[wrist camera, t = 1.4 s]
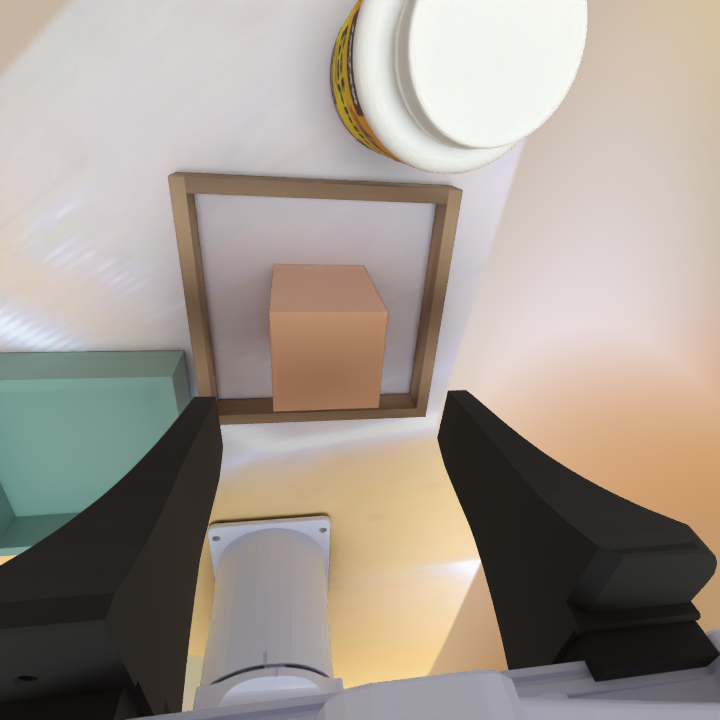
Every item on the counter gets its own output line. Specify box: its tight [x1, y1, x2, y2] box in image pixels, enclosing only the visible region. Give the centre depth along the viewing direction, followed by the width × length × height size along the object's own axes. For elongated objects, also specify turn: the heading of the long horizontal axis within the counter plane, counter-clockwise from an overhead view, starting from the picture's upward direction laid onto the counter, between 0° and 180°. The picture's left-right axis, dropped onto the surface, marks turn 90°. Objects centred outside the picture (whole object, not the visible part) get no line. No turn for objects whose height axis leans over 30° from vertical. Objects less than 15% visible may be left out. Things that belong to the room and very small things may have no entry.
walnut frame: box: [168, 172, 463, 425], centre depth 21 cm, size 12×12×2 cm
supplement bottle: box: [330, 0, 587, 174], centre depth 13 cm, size 6×6×10 cm
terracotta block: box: [269, 264, 388, 411], centre depth 20 cm, size 4×4×6 cm
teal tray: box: [0, 351, 191, 556], centre depth 23 cm, size 11×11×3 cm
